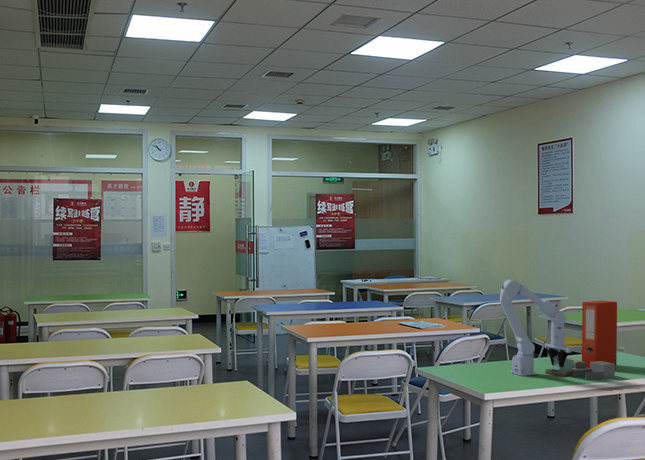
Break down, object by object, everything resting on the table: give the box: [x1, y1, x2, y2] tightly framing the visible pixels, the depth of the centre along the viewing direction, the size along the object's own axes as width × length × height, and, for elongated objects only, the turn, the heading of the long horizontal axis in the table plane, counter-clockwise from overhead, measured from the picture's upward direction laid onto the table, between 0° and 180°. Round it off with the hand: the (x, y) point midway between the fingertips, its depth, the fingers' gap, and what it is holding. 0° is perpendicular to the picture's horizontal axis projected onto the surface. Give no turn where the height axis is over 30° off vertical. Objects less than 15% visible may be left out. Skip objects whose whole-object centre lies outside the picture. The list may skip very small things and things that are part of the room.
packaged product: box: [557, 355, 590, 370], centre depth 314 cm, size 18×5×10 cm
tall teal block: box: [552, 355, 574, 372], centre depth 298 cm, size 9×4×6 cm, turn 114°
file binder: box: [581, 300, 618, 369], centre depth 318 cm, size 8×17×32 cm, turn 124°
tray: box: [545, 368, 575, 378], centre depth 298 cm, size 13×8×2 cm, turn 114°
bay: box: [572, 361, 616, 381], centre depth 292 cm, size 17×8×6 cm, turn 114°
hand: (557, 366), depth 297 cm, fingers closed on tall teal block, 4 cm apart
